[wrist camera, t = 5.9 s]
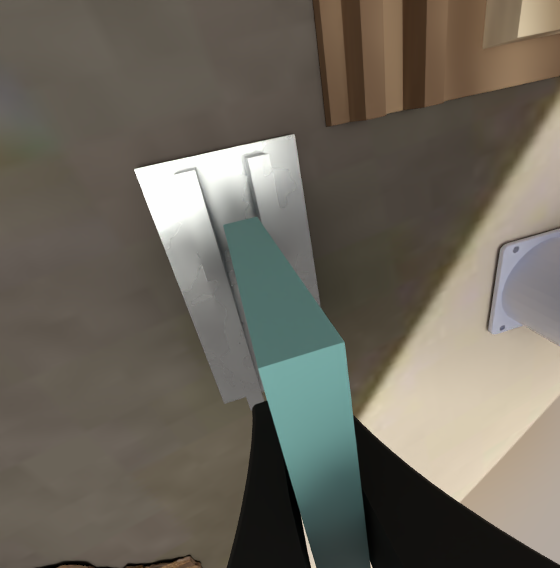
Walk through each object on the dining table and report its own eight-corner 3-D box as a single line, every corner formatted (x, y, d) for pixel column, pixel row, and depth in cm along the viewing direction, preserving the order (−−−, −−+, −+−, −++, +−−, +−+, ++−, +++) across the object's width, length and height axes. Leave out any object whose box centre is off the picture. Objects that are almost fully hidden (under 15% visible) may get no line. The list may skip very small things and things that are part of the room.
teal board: (256, 216, 11) (344, 341, 4) (307, 438, 16) (379, 644, 10) (223, 224, 11) (258, 368, 4) (285, 445, 16) (343, 659, 10)
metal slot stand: (290, 134, 16) (304, 133, 14) (326, 363, 24) (339, 387, 21) (137, 167, 15) (125, 172, 13) (223, 395, 23) (226, 424, 20)
